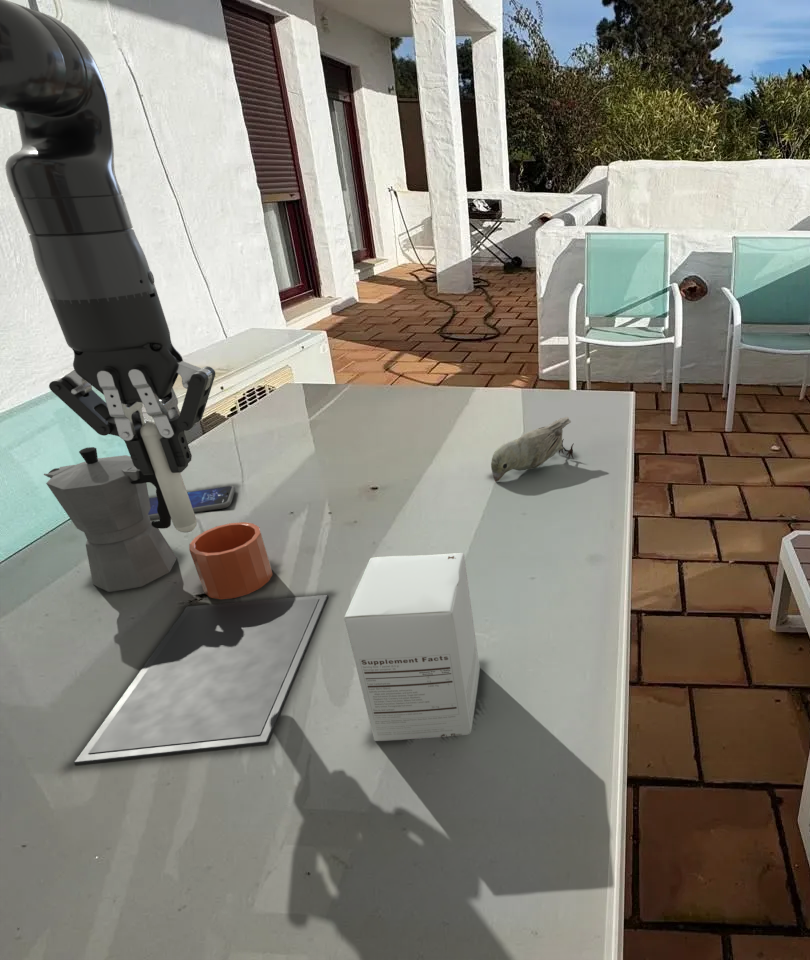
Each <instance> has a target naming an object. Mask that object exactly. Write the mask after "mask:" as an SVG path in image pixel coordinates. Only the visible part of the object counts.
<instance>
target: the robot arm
mask: <svg viewBox="0 0 810 960" xmlns="http://www.w3.org/2000/svg"><path fill="white" fill-rule="evenodd" d="M109 104H110V103H109V99H108V94H107V90H106V86H105V83H104V80H103V77H102V74H101V71H100V69H99V66H98V64H97V63H96V60H95V59H94V56H93V55H92V53H91V51H90V50H89V48H88V46H87V45H86V44H85V42H84V41H83V40H82V39H81V37H79V35H78V34H77V33H75V31H74V30H73V29H72V28H71V27H69V26H68V25H66V24H65V23H63V22H62V21H61V20H60V19H57V18H55V17H53V16H52V15H50V14H47V13H45V12H43V11H42V12H41V11H38V10H36V9H33V8H29V7H27V6H24V5H21V4H18V3H15V2H12V1H10V0H0V109H2V110H6V111H10V112H15V114H16V120H17V126H18V130H19V135H20V141H21V148H20V150H19V151H17V152H15V153H13V154H12V155H10V156H9V157H8V158H7V160H6V161H5V166H4V167H5V168H4V169H5V175H6V178H7V182H8V185H9V188H10V191H11V193H12V197H13V198H14V201H15V203H16V206H17V209H18V211H19V214H20V217H21V218H22V220H23V224H24V225H25V229H26V231H27V234H29V235H28V237H29V240H30V243H31V247H32V248H31V249H32V252H33V257H34V261H35V264H36V265H35V266H36V267H37V270H38V273H39V275H40V276H39V277H40V278H41V281H42V283H43V286H44V289H45V291H46V293H47V296H48V299H49V302H50V303H51V307H52V310H53V312H54V314H55V317H56V319H57V322H58V324H59V327H60V330H61V332H62V335H63V337H64V340H65V343H66V345H67V346H68V347H69V348H70V349H71V350H72V351H73V362H72V367H73V370H72V371H70V372H69V373H67V374H64V375H63V376H60V377H58V378H57V379H54V380H52V381H51V382H49V384H48V388H49V390H50V391H51V392H52V393H53V394H54V395H55V396H56V397H57V398H58V399H60V400H61V401H62V402H63V403H64V404H65V405H66V406H67V407H68V408H70V410H71V411H73V412H74V414H76V415H77V416H78V417H79V418H80V419H82V421H83V422H84V423H85V424H87V425H88V426H89V427H90V428H91V429H92V430H93V431H94V432H96V434H98V435H100V436H108V435H111V436H115V437H119V438H120V439H121V440H123V441H124V443H125V446H126V448H127V451H128V454H129V456H130V457H131V459H132V462H133V464H134V466H135V467H136V468H137V469H138V470H141V471H142V474H143V475H152V474H154V473H155V472H154V469H153V467H152V464H151V461H150V458H149V456H148V453H147V450H146V447H145V445H144V442H143V439H142V436H141V433H140V429H141V427H142V425H143V424H145V423H146V421H145V418H144V414H143V407H144V409H145V411H146V414H147V415H148V416H149V417H152V420H153V421H154V422H155V424H156V426H157V428H158V431H159V433H160V434H161V436H163V437H162V438H161V439H160V442H161V445H162V448H163V450H164V453H165V456H166V459H167V462H168V465H169V467H170V470H171V472H172V473H181V474H182V473H183V472H184V471H185V470H186V469H187V468H188V467H189V463H190V462H191V461H192V459H193V456H192V452H191V448H190V446H189V443H188V440H187V437H186V434H185V431H186V432H187V431H190V430H191V429H192V428H193V427H195V425H197V424H198V423H199V422H200V421H202V419H203V417H204V413H205V411H206V406H207V403H208V400H209V398H210V394H211V390H212V387H213V385H214V381H215V377H216V371H215V369H214V368H213V367H211V366H203V367H199V366H196V365H194V364H191V363H189V362H186V361H184V359H183V357H182V355H181V353H180V352H179V351H178V350H177V349H176V348H175V346H174V345H173V343H172V338H171V332H170V329H169V325H168V322H167V319H166V316H165V313H164V309H163V307H162V304H161V300H160V297H159V295H158V291H157V287H156V284H155V277H154V274H153V272H152V271H151V269H150V265H149V263H148V260H147V256H146V254H145V252H144V250H143V248H142V246H141V244H140V242H139V239H138V238H137V234H136V232H135V229H133V228H134V225H133V223H132V220H131V217H130V214H129V210H128V207H127V203H126V201H125V197H124V195H123V192H122V188H121V187H120V184H119V181H118V179H117V176H116V171H115V152H114V151H115V148H114V147H115V146H114V139H113V130H112V122H111V121H112V120H111V113H110V112H111V111H110V105H109ZM179 376H180V377H181V384H182V387H183V388H185V389H186V392H185V395H184V399H183V402H182V406H181V409H179V406H178V405H179V400H178V397H177V395H176V392H175V390H174V386H175V383H176V381H177V380H178V377H179ZM93 388H94V389H95V390H96V391H98V392H99V393H101V394H102V395H103V396H104V399H105V400H104V399H103V398H102V397H101V396H100V395H98V393H96V392H95V391H94V390H93Z"/></svg>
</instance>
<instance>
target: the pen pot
mask: <svg viewBox="0 0 810 960" xmlns="http://www.w3.org/2000/svg"><path fill="white" fill-rule="evenodd" d="M188 549H189V550H188V551H189V553H190V555H191V558H192V562H193V564H194V567H195V570H196V573H197V576H198V578H199V582H200V585H201V587H202V590H203V593H204V594H205V596H206V595H207V596H208V597H209V598H211V599H216V600H229V599H236V598H240V597H243V596H247V595H250V594H252V593H254V592H255V591H258V590H259V589H261V588H262V587H263V586H265V585H266V584H267V583H269V581H270V580H271V579H272V577H273V569H272V565H271V562H270V559H269V556H268V552H267V548H266V545H265V542H264V538H263V534H262V531H261V528H260V527H259V526H258V525H257V524H255V523H252V522H245V521H244V522H242V521H241V522H240V521H239V522H230V523H226V524H221V525H217V526H214V527H212V528H210V529H206V530H205V531H203V532H201V533H200V534H198V535H196V536H195V537H194V538H193V539H192V540H191V541H190V543H189V545H188Z"/></svg>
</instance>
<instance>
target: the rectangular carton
mask: <svg viewBox="0 0 810 960" xmlns="http://www.w3.org/2000/svg"><path fill="white" fill-rule="evenodd" d="M471 600H472V599H471V594H470V586H469V580H468V572H467V565H466V559H465V553H464V552H453V553H438V554H420V555H385V556H376V557H374V556H373V557H370V558H369V561H368V563H367V565H366V567H365V570H364V572H363V575H362V577H361V579H360V580H359V583H358V586H357V587H356V590H355V592H354V594H353V597H352V599H351V601H350V603H349V606H348V608H347V610H346V613H345V615H344V617H343V619H344V623H345V624H344V625H345V628H346V631H347V635H348V638H349V644H350V647H351V651H352V656H353V659H354V663H355V667H356V671H357V676H358V680H359V684H360V688H361V692H362V697H363V701H364V705H365V709H366V713H367V716H368V717H367V718H368V720H369V724H370V729H371V732H372V738H373V741H374V742H387V741H402V740H417V739H429V738H430V739H431V738H445V737H457V736H468V735H470V734H471V733H472V728H473V723H474V717H475V710H476V709H475V708H476V701H477V696H478V695H477V694H478V687H479V678H480V671H481V670H480V669H481V667H480V661H479V659H480V658H479V652H478V644H477V639H476V638H477V637H476V630H475V624H474V616H473V609H472V601H471Z"/></svg>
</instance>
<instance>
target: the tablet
mask: <svg viewBox="0 0 810 960" xmlns="http://www.w3.org/2000/svg"><path fill="white" fill-rule="evenodd" d="M328 598H329V595H328V594H322V595H308V596H298V597H297V596H295V597H284V598H274V599H273V598H272V599H262V600H261V599H259V600H250V601H237V602H225V603H213V604H202V605H193V606H192V605H191V606H190V605H189V606H186V607H185V608H184V610H182V613H181V614H180V615H179V616H178V618H177V619H176V621H175V622H174V624H173V625H172V626H171V628H170V629H169V630H168V632H167V633H166V634H165V636H164V637H163V639H162V640H161V641H160V643H159V644H158V646H157V647H156V649H155V650H154V651H153V653H152V654H151V656H150V657H149V658H148V659H147V661H146V662H145V664H144V665H143V666H142V668H141V669H140V670H139V672H138V673H137V675H136V676H135V678H134V679H133V680H132V682H131V683H130V684H129V686H128V687H127V689H125V691H124V693H123V694H122V695H121V697H120V698H119V700H118V701H117V702H116V704H114V707H112V709H111V711H110V712H109V713H108V715H107V716H106V718H105V719H104V720H103V722H101V724H100V725H99V727H98V728H97V730H96V731H95V732H94V734H93V735H92V736H91V738H90V739H89V741H88V742H87V744H85V747H84V748H83V749H82V751H81V752H80V753H79V755H78V756H77V757H76V759H75V760H74V761H73V764H74V765H82V764H84V765H85V764H92V763H100V762H101V763H102V762H110V761H120V760H128V759H139V758H147V757H156V756H164V755H165V756H166V755H173V754H174V755H175V754H183V753H192V752H201V751H202V752H203V751H211V750H220V749H229V748H230V749H231V748H238V747H247V746H256V745H257V746H258V745H265V744H268V742H269V740H270V738H271V735H272V733H273V730H274V728H275V726H276V724H277V721H278V718H279V716H280V713H281V711H282V709H283V706H284V704H285V702H286V700H287V697H288V694H289V693H290V689H291V687H292V685H293V682H294V680H295V677H296V676H297V673H298V670H299V668H300V665H301V664H302V660H303V658H304V655H305V653H306V651H307V648H308V647H309V645H310V641H311V639H312V636H313V634H314V632H315V629H316V627H317V624H318V622H319V619H320V617H321V614H322V612H323V610H324V608H325V605H326V602H327V600H328Z"/></svg>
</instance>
